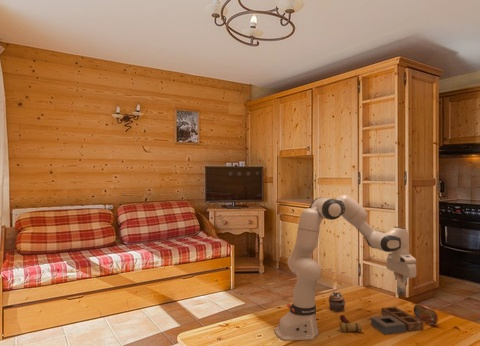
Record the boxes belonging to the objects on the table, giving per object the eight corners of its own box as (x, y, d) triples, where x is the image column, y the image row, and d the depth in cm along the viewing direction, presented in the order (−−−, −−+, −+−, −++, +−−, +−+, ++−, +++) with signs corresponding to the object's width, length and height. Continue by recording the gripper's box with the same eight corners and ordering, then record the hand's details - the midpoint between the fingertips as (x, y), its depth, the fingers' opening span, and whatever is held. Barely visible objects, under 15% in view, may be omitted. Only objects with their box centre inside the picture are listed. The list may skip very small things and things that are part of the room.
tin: (413, 316, 195) (413, 302, 195) (418, 316, 196) (417, 301, 196) (434, 328, 181) (433, 312, 181) (439, 327, 181) (438, 311, 182)
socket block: (385, 334, 174) (384, 326, 174) (371, 324, 185) (370, 317, 185) (405, 332, 176) (405, 324, 176) (390, 322, 188) (390, 315, 188)
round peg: (400, 296, 186) (399, 275, 186) (395, 293, 190) (395, 273, 190) (406, 295, 187) (406, 275, 187) (401, 293, 191) (401, 273, 191)
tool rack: (408, 331, 177) (408, 323, 177) (381, 315, 198) (381, 308, 198) (423, 329, 179) (423, 322, 179) (395, 313, 200) (395, 306, 200)
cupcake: (327, 311, 205) (327, 294, 205) (330, 305, 214) (329, 289, 214) (344, 313, 201) (344, 296, 201) (346, 307, 210) (345, 291, 210)
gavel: (332, 311, 197) (349, 311, 197) (332, 319, 197) (349, 319, 197) (342, 324, 176) (361, 324, 176) (342, 333, 176) (361, 333, 176)
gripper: (383, 252, 198) (383, 276, 198) (408, 261, 178) (408, 287, 178) (392, 252, 200) (393, 275, 199) (418, 260, 180) (419, 286, 180)
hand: (400, 281), depth 189 cm, fingers closed on round peg, 4 cm apart
